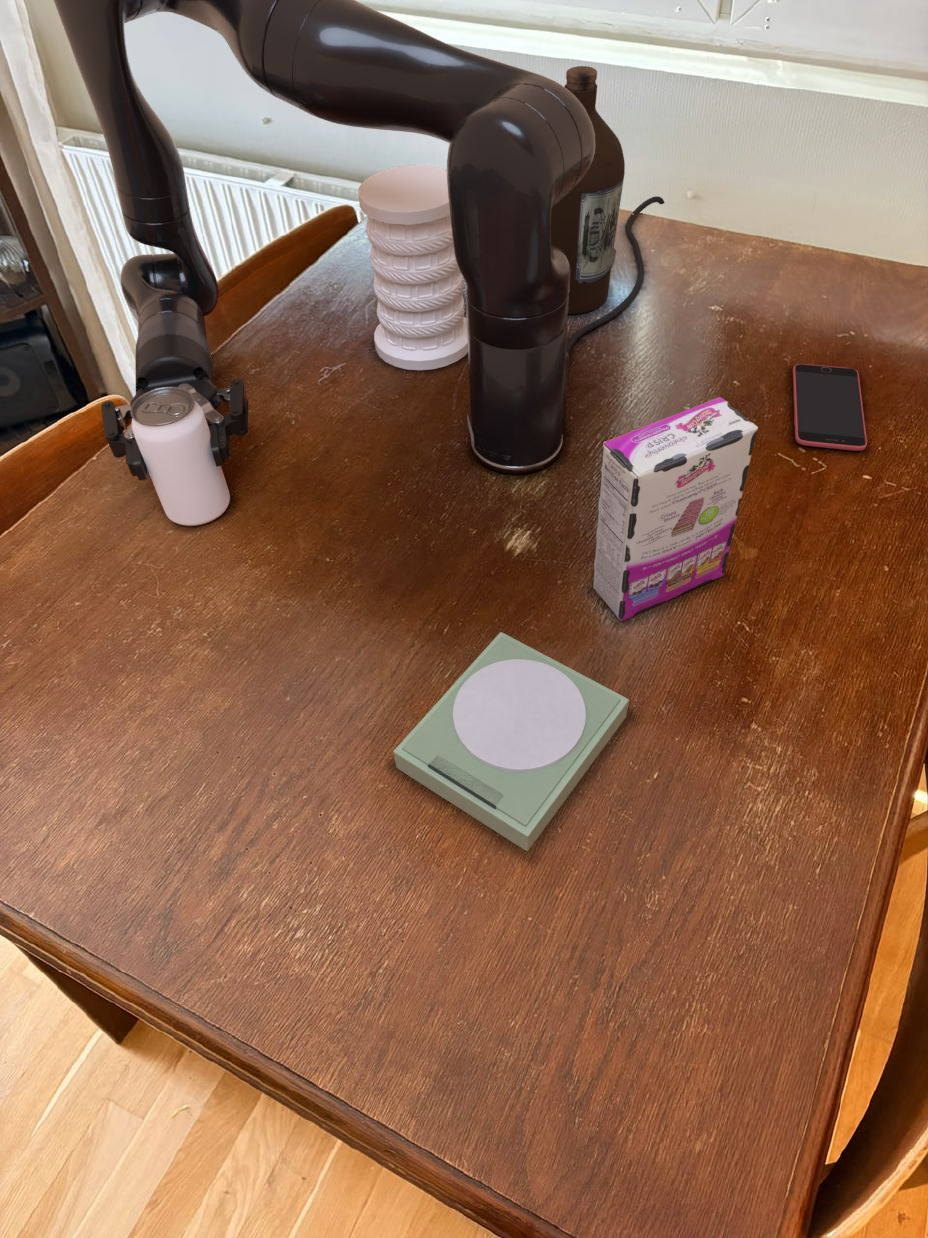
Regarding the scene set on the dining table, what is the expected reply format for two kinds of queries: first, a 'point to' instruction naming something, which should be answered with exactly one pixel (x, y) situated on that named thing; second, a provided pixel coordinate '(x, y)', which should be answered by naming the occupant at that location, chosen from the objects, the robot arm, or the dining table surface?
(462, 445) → the dining table surface
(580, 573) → the dining table surface
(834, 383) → the smartphone
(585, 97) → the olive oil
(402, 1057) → the dining table surface
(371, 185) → the decorative container
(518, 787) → the scale
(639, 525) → the candy bar box
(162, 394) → the can
